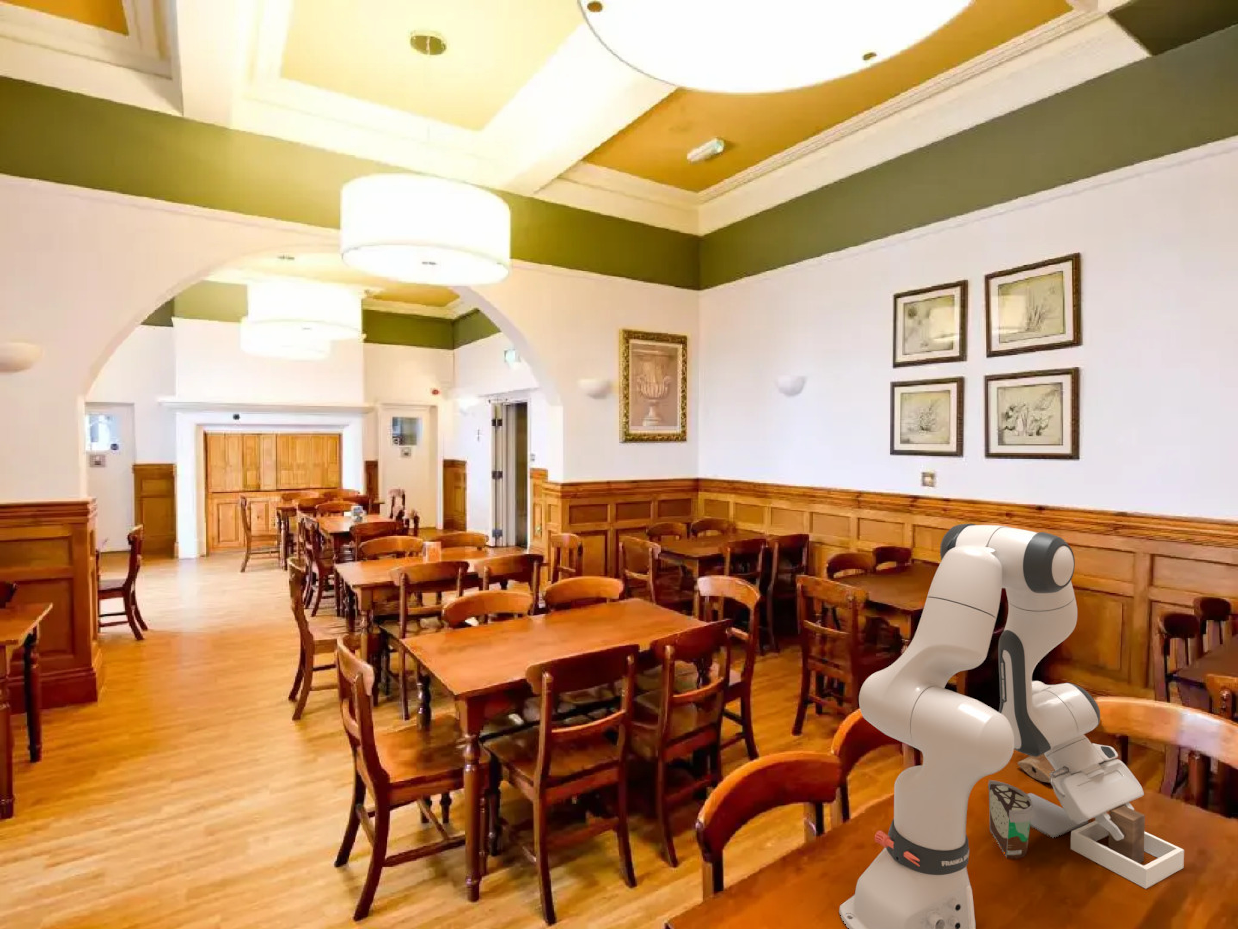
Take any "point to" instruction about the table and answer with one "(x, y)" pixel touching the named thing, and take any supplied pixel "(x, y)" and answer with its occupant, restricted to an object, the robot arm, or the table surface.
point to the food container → (1010, 818)
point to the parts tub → (1131, 870)
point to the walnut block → (1128, 833)
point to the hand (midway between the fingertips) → (1130, 835)
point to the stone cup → (1037, 767)
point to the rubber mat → (1051, 818)
